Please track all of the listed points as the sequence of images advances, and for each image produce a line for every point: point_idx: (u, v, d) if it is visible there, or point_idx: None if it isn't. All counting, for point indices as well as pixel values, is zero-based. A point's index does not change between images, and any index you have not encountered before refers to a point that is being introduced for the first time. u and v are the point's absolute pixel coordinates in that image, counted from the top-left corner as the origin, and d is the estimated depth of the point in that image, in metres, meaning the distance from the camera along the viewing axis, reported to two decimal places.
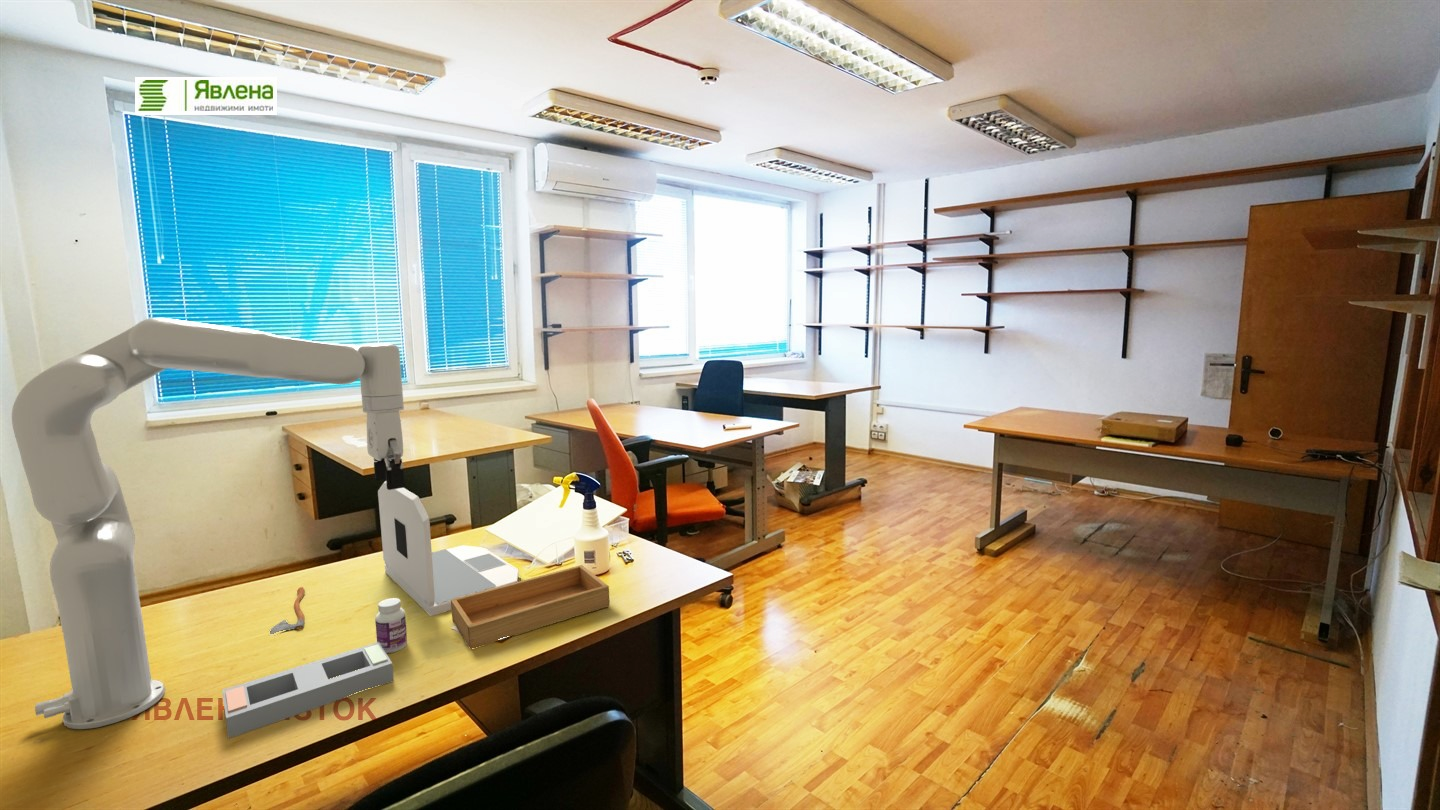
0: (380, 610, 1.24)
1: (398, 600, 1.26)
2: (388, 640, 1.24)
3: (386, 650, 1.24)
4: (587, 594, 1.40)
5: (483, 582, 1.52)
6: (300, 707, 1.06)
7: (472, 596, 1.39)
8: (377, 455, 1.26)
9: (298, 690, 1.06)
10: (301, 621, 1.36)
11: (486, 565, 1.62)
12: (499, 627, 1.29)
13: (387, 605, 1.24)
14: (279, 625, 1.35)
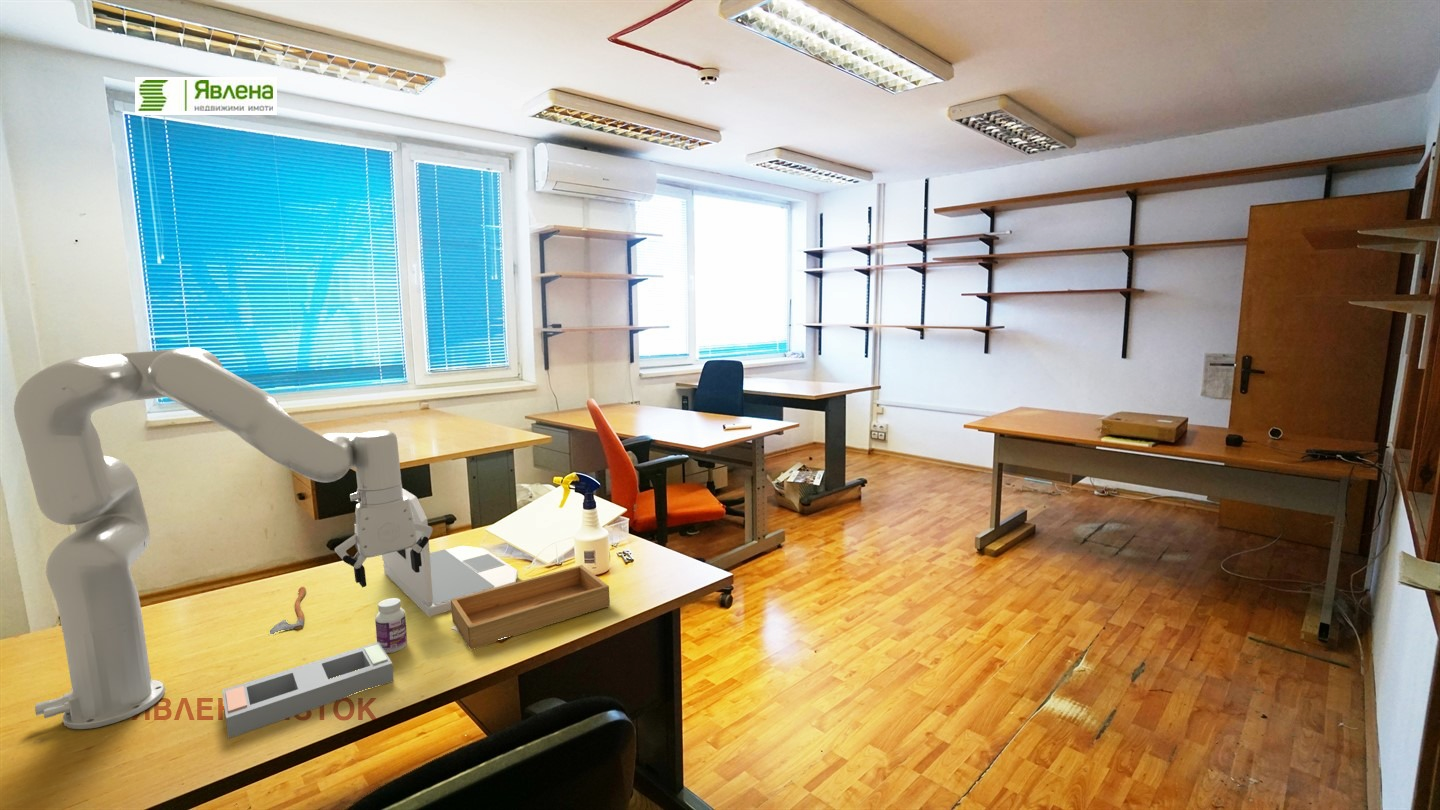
0: (380, 610, 1.24)
1: (398, 600, 1.26)
2: (388, 640, 1.24)
3: (386, 650, 1.24)
4: (587, 594, 1.40)
5: (481, 583, 1.52)
6: (300, 707, 1.06)
7: (472, 596, 1.39)
8: (412, 541, 1.24)
9: (298, 690, 1.06)
10: (301, 621, 1.36)
11: (485, 565, 1.62)
12: (499, 627, 1.29)
13: (387, 605, 1.24)
14: (279, 625, 1.35)
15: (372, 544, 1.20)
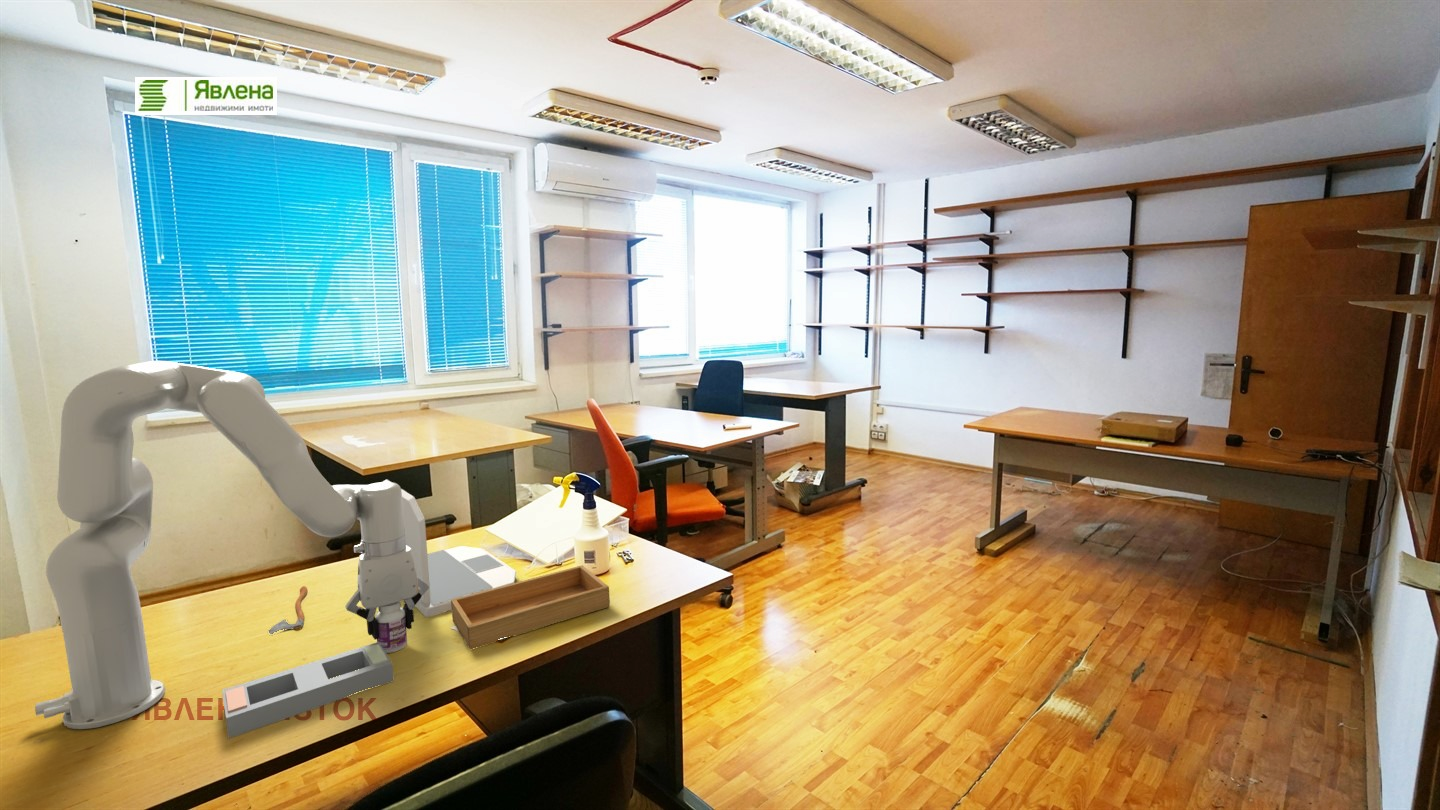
0: (380, 610, 1.24)
1: None
2: (388, 640, 1.24)
3: (386, 650, 1.24)
4: (587, 594, 1.40)
5: (479, 583, 1.51)
6: (300, 707, 1.06)
7: (472, 596, 1.39)
8: (414, 591, 1.26)
9: (298, 690, 1.06)
10: (300, 621, 1.36)
11: (483, 566, 1.62)
12: (499, 627, 1.29)
13: (387, 605, 1.24)
14: (279, 624, 1.35)
15: (375, 595, 1.21)
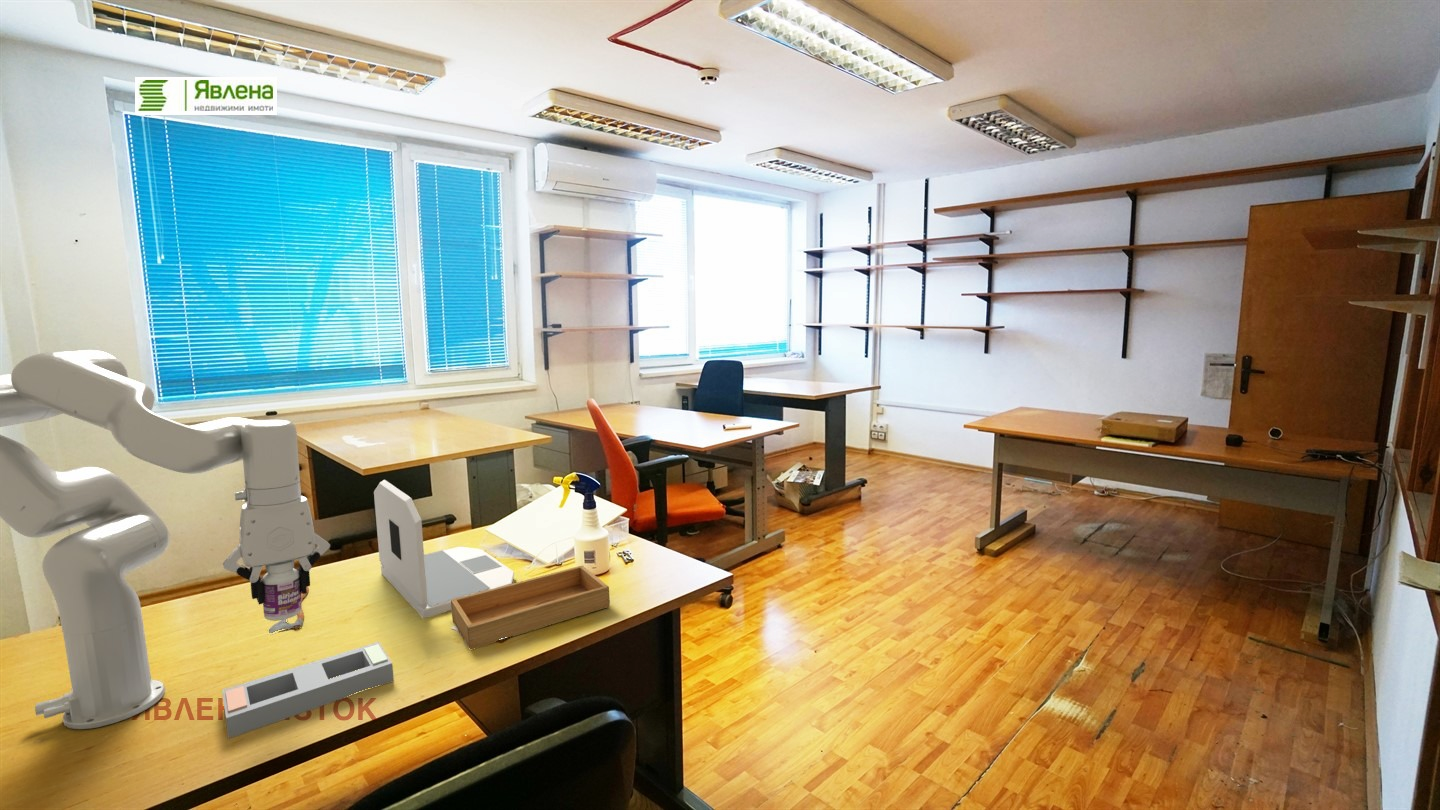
0: (267, 570, 1.05)
1: None
2: (275, 605, 1.05)
3: (273, 617, 1.06)
4: (587, 594, 1.40)
5: (477, 584, 1.51)
6: (300, 707, 1.06)
7: (472, 596, 1.39)
8: (310, 549, 1.08)
9: (298, 690, 1.06)
10: (299, 620, 1.36)
11: (482, 567, 1.61)
12: (498, 627, 1.29)
13: (276, 564, 1.06)
14: (278, 624, 1.35)
15: (259, 552, 1.03)
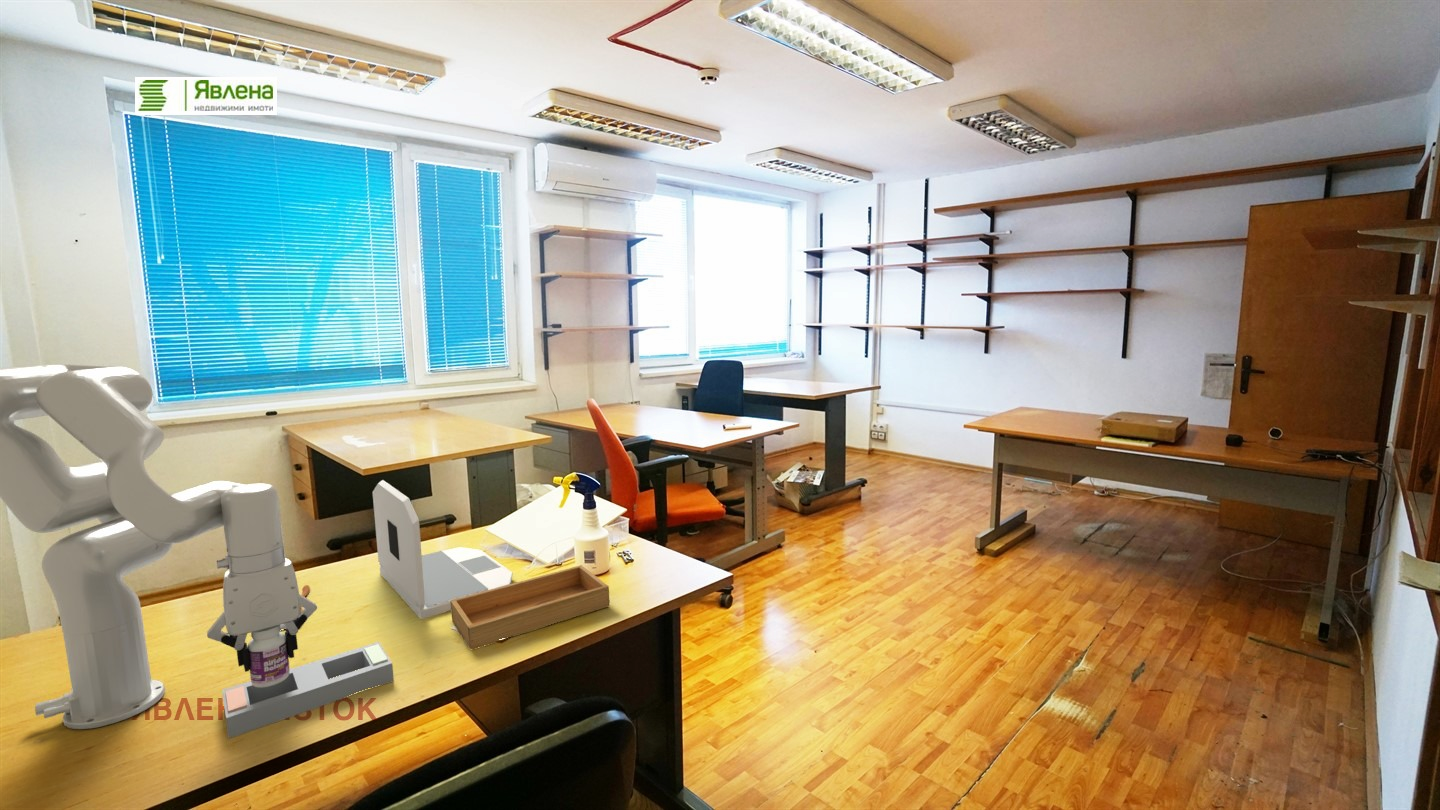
0: (253, 636, 1.04)
1: None
2: (262, 672, 1.04)
3: (260, 684, 1.04)
4: (587, 594, 1.40)
5: (475, 585, 1.50)
6: (300, 707, 1.06)
7: (472, 597, 1.39)
8: (295, 613, 1.06)
9: (298, 690, 1.06)
10: None
11: (480, 567, 1.61)
12: (499, 628, 1.29)
13: (261, 630, 1.04)
14: None
15: (242, 620, 1.01)
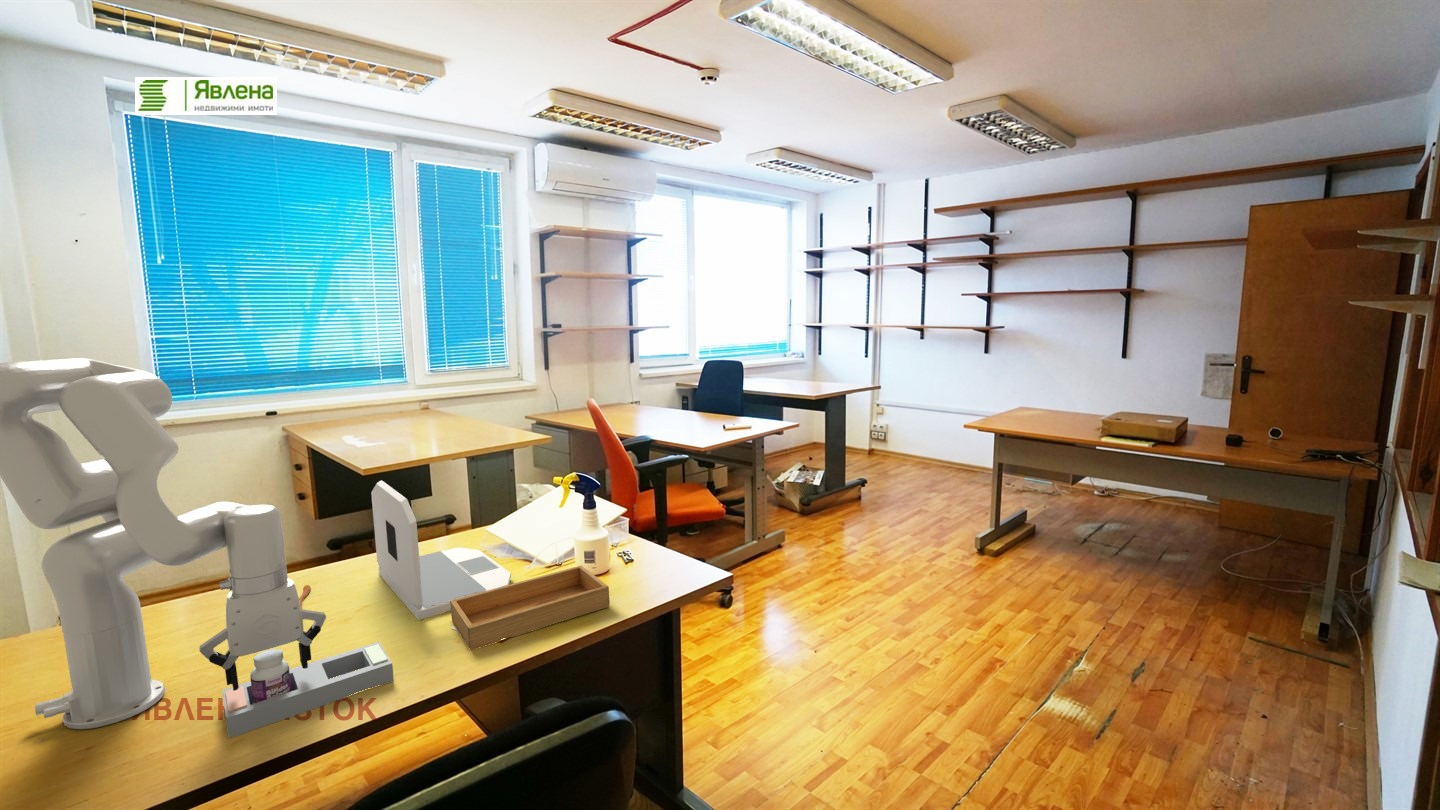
0: (255, 665, 1.05)
1: (279, 652, 1.07)
2: None
3: None
4: (587, 594, 1.40)
5: (473, 586, 1.50)
6: (300, 707, 1.06)
7: (472, 597, 1.39)
8: (297, 633, 1.06)
9: (298, 690, 1.06)
10: None
11: (479, 568, 1.61)
12: (499, 628, 1.28)
13: (264, 659, 1.05)
14: None
15: (245, 641, 1.02)
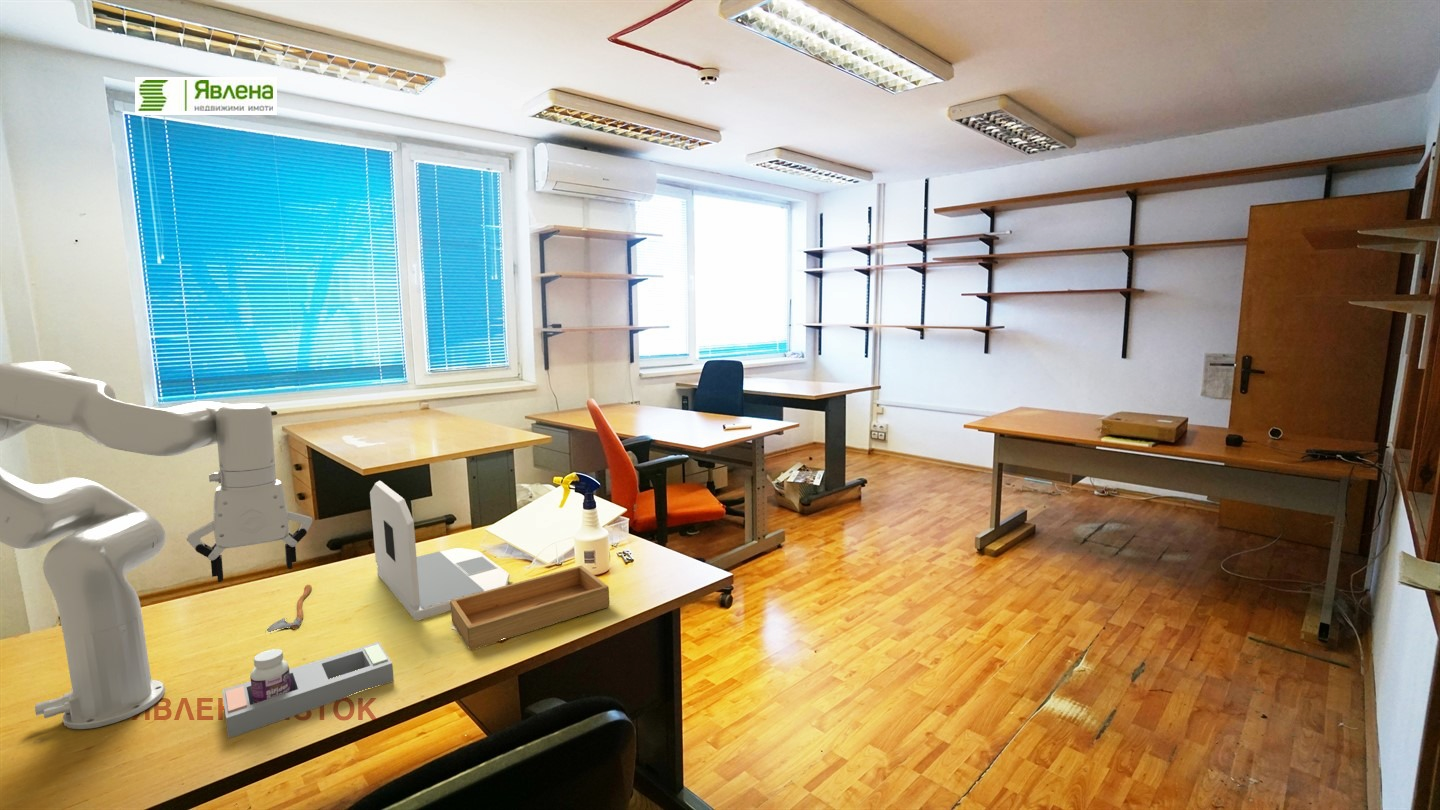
0: (255, 665, 1.05)
1: (279, 652, 1.07)
2: None
3: None
4: (587, 594, 1.39)
5: (471, 586, 1.50)
6: (300, 707, 1.06)
7: (471, 597, 1.39)
8: (283, 532, 1.08)
9: (298, 690, 1.06)
10: (298, 620, 1.36)
11: (477, 569, 1.60)
12: (498, 628, 1.28)
13: (264, 659, 1.05)
14: (277, 623, 1.36)
15: (231, 533, 1.04)
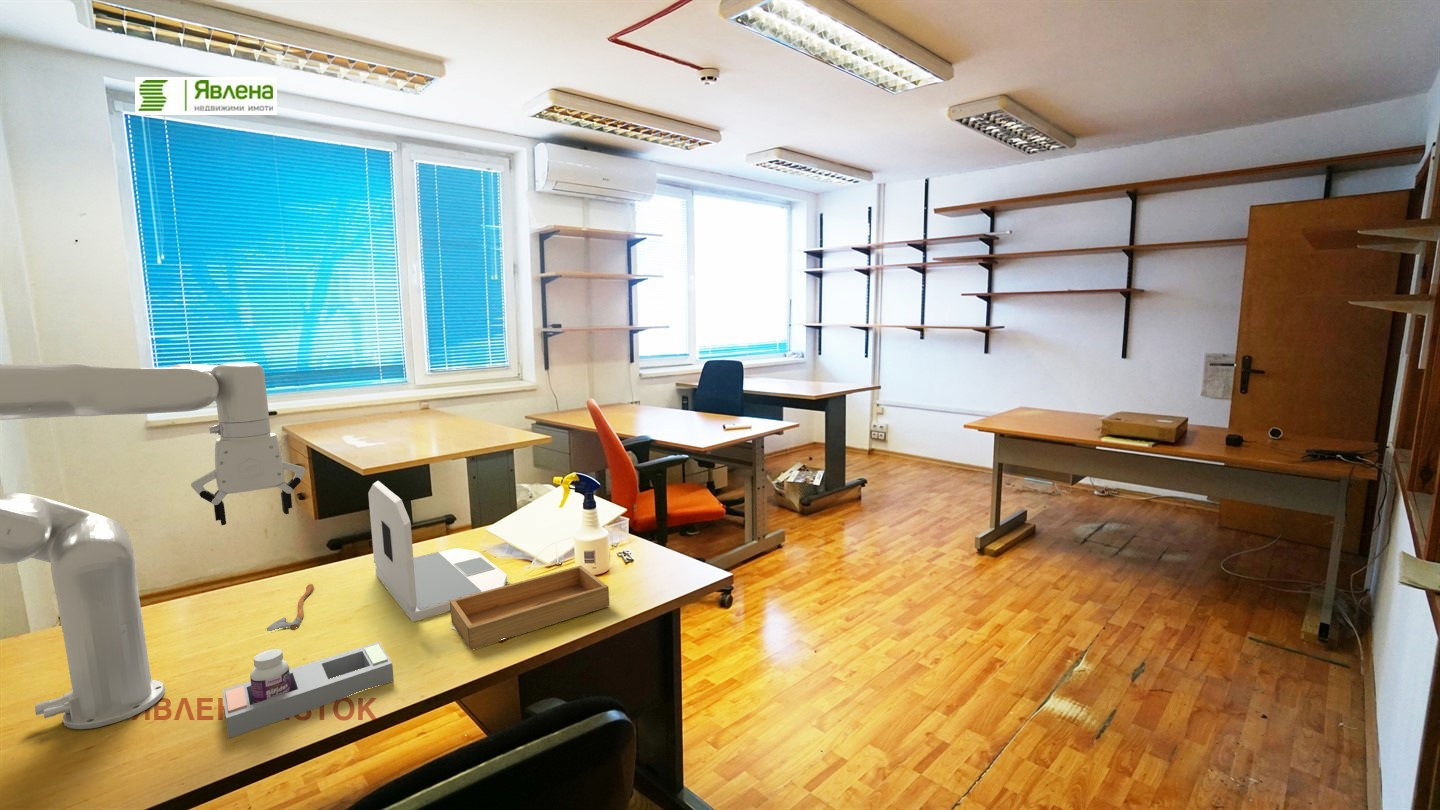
0: (255, 665, 1.05)
1: (279, 652, 1.07)
2: None
3: None
4: (587, 594, 1.40)
5: (468, 587, 1.49)
6: (300, 707, 1.06)
7: (471, 597, 1.38)
8: (279, 480, 1.19)
9: (298, 690, 1.06)
10: (297, 620, 1.36)
11: (475, 569, 1.60)
12: (499, 628, 1.28)
13: (264, 659, 1.05)
14: (277, 623, 1.36)
15: (232, 480, 1.14)
